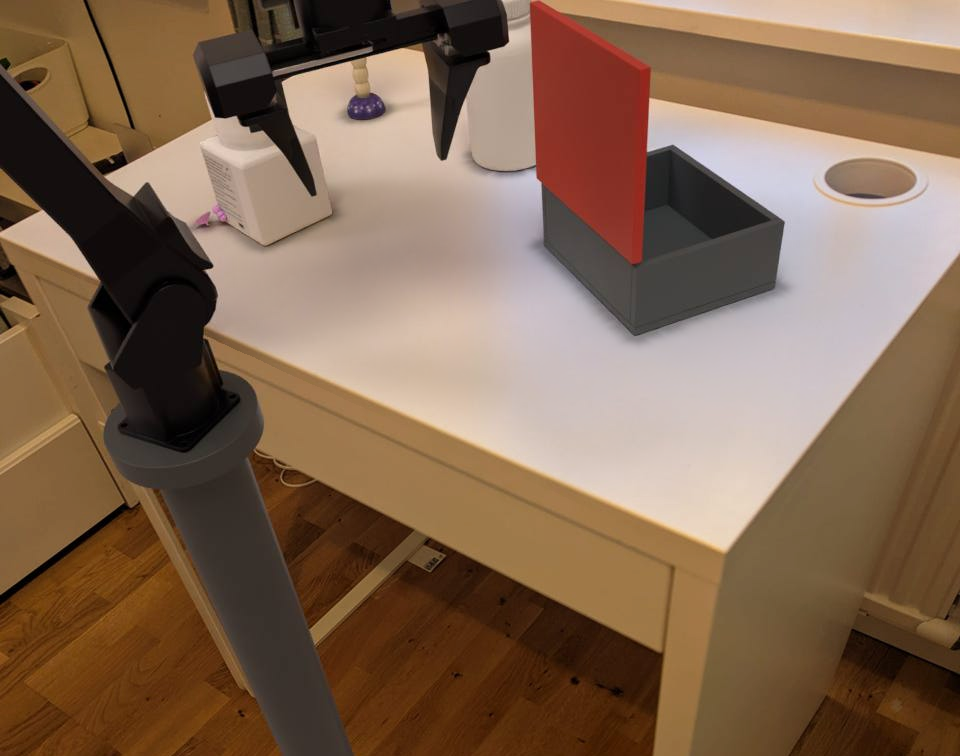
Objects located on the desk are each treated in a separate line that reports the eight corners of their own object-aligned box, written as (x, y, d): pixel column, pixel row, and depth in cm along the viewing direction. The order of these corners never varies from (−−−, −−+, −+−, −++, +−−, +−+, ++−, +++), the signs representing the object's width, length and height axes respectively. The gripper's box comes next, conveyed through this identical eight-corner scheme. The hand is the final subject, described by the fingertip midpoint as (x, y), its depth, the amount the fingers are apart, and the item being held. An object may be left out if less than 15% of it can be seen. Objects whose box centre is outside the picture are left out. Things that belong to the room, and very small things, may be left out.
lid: (539, -1, 67) (529, 2, 66) (651, 67, 56) (639, 69, 56) (545, 176, 76) (536, 178, 76) (642, 261, 65) (632, 264, 65)
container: (289, 190, 92) (255, 52, 83) (334, 215, 87) (303, 72, 78) (221, 220, 88) (178, 80, 79) (264, 248, 84) (223, 103, 75)
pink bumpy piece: (211, 237, 89) (203, 238, 87) (200, 223, 89) (191, 224, 87) (233, 217, 88) (225, 218, 86) (222, 203, 88) (213, 204, 86)
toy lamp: (395, 104, 104) (370, -64, 93) (380, 122, 101) (352, -50, 90) (356, 103, 106) (326, -64, 94) (340, 120, 103) (307, -50, 91)
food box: (669, 206, 83) (673, 144, 79) (775, 288, 72) (785, 221, 68) (543, 245, 80) (540, 182, 76) (634, 336, 70) (636, 268, 66)
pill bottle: (495, 181, 89) (481, 13, 79) (458, 152, 94) (440, -10, 84) (567, 158, 91) (563, -9, 81) (526, 130, 97) (517, -30, 86)
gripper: (437, -146, 59) (467, 99, 71) (146, -82, 56) (225, 164, 68) (499, -111, 52) (522, 158, 63) (166, -35, 49) (252, 233, 60)
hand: (378, 175), depth 64 cm, fingers open, 9 cm apart
